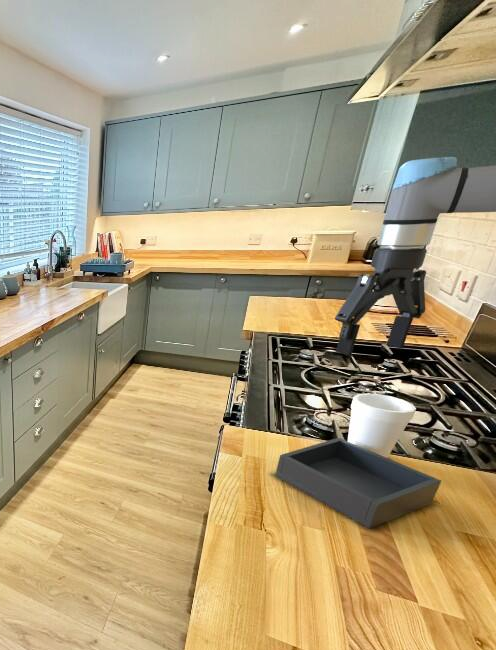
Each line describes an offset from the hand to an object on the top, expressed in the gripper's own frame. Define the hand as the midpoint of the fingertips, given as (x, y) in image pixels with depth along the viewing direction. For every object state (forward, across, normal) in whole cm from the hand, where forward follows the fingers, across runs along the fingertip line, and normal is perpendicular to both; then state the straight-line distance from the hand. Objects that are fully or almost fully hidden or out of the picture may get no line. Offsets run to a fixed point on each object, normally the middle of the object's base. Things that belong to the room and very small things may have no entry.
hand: (369, 350), depth 90 cm
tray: (+22, +17, +16) cm, 32 cm away
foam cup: (+22, +3, +8) cm, 23 cm away
